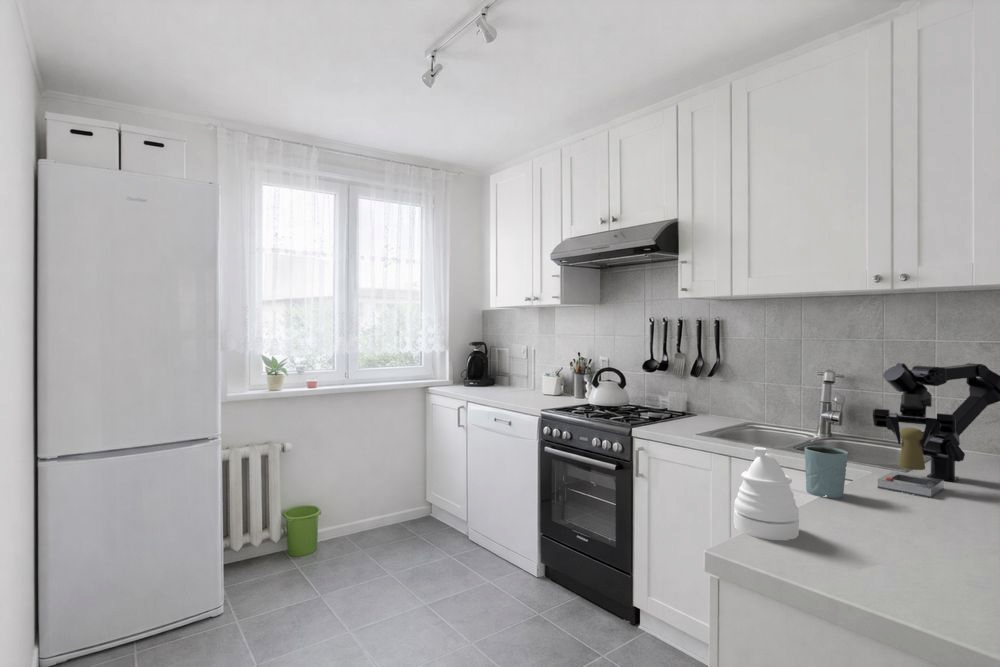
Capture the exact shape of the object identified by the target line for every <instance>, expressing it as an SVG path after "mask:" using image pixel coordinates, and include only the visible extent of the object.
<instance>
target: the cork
mask: <svg viewBox="0 0 1000 667" xmlns="http://www.w3.org/2000/svg"><path fill="white" fill-rule="evenodd" d="M922 432H923V431H922V430H921V429H919V428H915V427H903V428H901V429H900V439H902V440H901V447H900V448H901V449H900V453H899V462H898V467H899V468H902V469H906V470H915V471H923V470H926V465H925V464H926V463H925V458H924V455H923V452H922V446H921V440H922V438H923V433H922Z"/></svg>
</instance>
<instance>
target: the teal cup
mask: <svg viewBox="0 0 1000 667" xmlns="http://www.w3.org/2000/svg"><path fill="white" fill-rule="evenodd" d="M804 459H805V461H804V462H805V468H804V471H805V480H806V481H805V487H806V488H805V491H806V493H807V494H810V495H812V496H815V497H819V498H824V497H823V496H825V495H827V497H829V498H828V499H842V498H843V496H844V491H845V490H844V489H845V484H846V483H845V481H846V475H847V465H848V459H849V452H848V451H846V450H844V449H842V448H837V447H831V446H824V445H823V446H822V445H809V446H805V447H804Z"/></svg>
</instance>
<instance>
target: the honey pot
mask: <svg viewBox="0 0 1000 667" xmlns="http://www.w3.org/2000/svg"><path fill="white" fill-rule="evenodd" d="M753 453H754V455H755V456H756V458H755V459H754V460H753V461H752V462H751V464H750V466H749V468H748V470H745V471H743V472H742V473H741V475H740V476H741V478H742V479H743V480H742V484H741V485H740V486H739V488H738V489H739V490H738V492H737V497H736V498H735V500H734V503H733V505H734V507H733V508H734V510H733V526H734V527H735V529H736V530H737V531H739V532H741V533H743V534H745V535H748V536H751V537H755V538H758V539H763V540H769V541H790V540H789V539H792V540H794V538H795V539H797V538H798V537H799V536H800V535H799V532H800V531H799V530H800V529H799V527H800V526H799V525H800V516H799V515H800V510H799V508H798V506H797V504H796V502H797V501H796V499H795V498H794V492H793V491H792V488H791V485H790V484H792V482H793V479H792V478H791V477H790V476H789V475H787V474H786V473H785V472H784V470H783V468H782V466H781V464H780V463H779V462H778V460H777V459H776V458H775V456H773V455H771V454H769V453H767V448H765V447H761V446H757V447H756V446H755V447H753ZM749 530H751V531H749ZM748 531H749V532H748ZM745 532H747V533H745ZM797 536H798V537H797ZM796 537H797V538H796Z"/></svg>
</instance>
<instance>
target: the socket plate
mask: <svg viewBox="0 0 1000 667" xmlns="http://www.w3.org/2000/svg"><path fill="white" fill-rule="evenodd" d="M944 481H945V480H941V479H935V478H929V477H927V476H922V475H917V474H910V473H905V472H899V471H892V470H891V471H890V472H889V473H886V474H885V475H883V476H881V477H879V478H877V488H878V489H881V490H886V489H887V490H888V491H891V490H892V492H896V491H897V493H901V492H903V494H907V493H908V495H912V494H914V495H913V496H917V495H919V496H918V497H922V496H923V498H927V497H928V499H932V498H933V497H935V496H936V495H938V494H939V493H940V492H942V491H943V490H944V489H945V482H944ZM887 490H886V491H887ZM941 490H942V491H941ZM934 495H935V496H934Z"/></svg>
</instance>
